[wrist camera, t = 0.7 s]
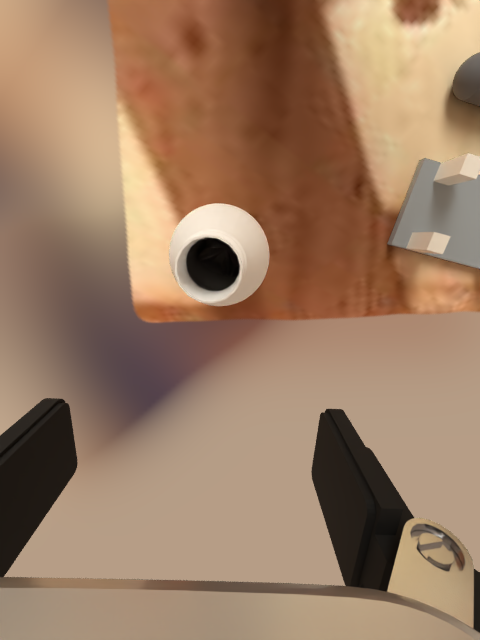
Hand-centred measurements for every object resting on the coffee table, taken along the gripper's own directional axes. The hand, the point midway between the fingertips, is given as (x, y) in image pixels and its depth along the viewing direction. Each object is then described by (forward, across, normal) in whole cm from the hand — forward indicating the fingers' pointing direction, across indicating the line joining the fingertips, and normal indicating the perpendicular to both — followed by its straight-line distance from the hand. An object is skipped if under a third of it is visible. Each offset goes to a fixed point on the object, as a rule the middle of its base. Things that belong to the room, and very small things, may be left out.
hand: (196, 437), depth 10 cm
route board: (+28, -32, -10) cm, 44 cm away
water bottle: (+29, 0, -6) cm, 29 cm away
